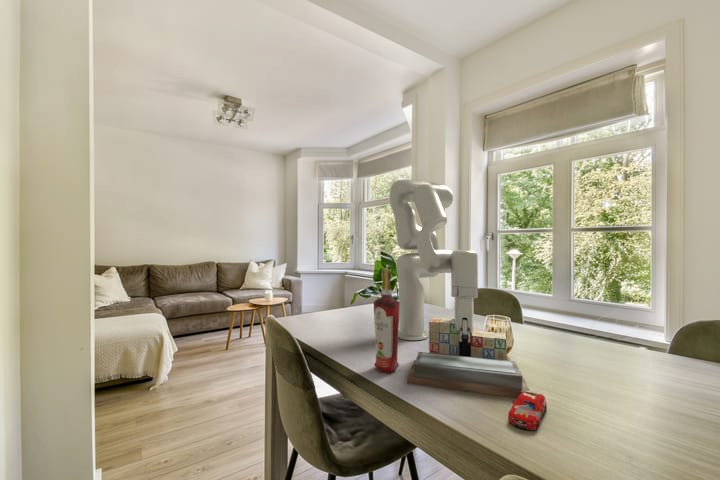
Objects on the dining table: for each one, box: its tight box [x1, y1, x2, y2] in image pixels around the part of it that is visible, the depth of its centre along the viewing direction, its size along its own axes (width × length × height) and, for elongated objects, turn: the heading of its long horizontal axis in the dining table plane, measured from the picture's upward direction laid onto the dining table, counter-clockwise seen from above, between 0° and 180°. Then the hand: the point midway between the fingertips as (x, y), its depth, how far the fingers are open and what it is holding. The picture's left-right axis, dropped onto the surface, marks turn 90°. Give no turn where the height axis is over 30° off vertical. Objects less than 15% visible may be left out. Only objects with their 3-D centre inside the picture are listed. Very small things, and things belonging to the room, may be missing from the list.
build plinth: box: [406, 351, 531, 399], centre depth 83 cm, size 13×28×5 cm, turn 73°
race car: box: [507, 390, 547, 431], centre depth 66 cm, size 13×5×4 cm, turn 139°
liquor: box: [373, 268, 400, 374], centre depth 91 cm, size 7×7×28 cm
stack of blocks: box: [428, 316, 508, 361], centre depth 95 cm, size 21×6×12 cm, turn 66°
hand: (464, 351), depth 96 cm, fingers closed on stack of blocks, 6 cm apart
